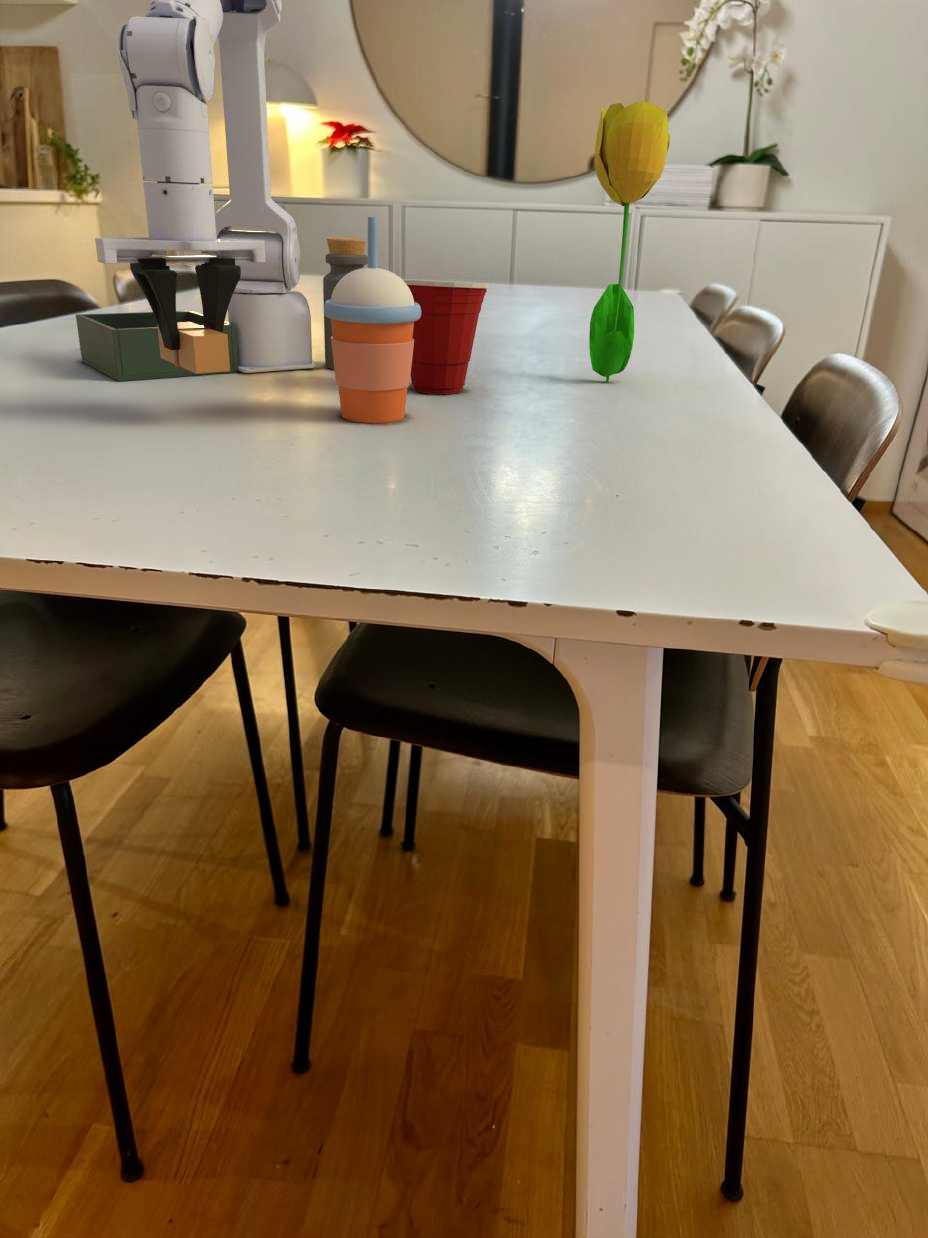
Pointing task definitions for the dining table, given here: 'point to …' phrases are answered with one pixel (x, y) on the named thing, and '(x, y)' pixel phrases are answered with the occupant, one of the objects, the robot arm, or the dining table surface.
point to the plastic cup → (444, 333)
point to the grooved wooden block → (198, 349)
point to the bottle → (340, 277)
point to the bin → (136, 345)
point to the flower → (627, 174)
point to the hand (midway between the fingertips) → (192, 347)
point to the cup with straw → (372, 340)
